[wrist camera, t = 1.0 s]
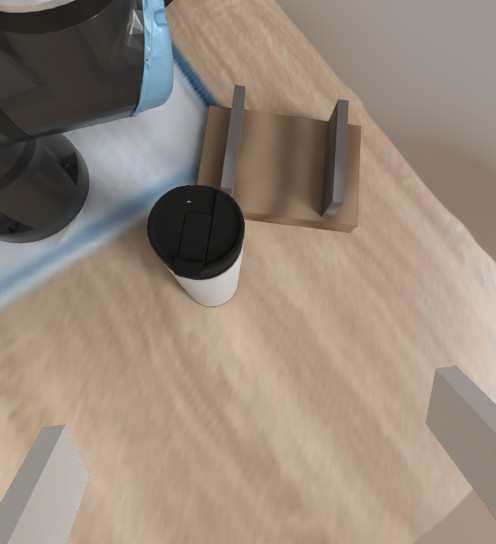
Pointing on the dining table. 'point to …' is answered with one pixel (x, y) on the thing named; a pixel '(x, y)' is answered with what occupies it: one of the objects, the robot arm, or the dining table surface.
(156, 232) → the travel mug
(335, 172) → the wooden rack
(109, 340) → the dining table surface
